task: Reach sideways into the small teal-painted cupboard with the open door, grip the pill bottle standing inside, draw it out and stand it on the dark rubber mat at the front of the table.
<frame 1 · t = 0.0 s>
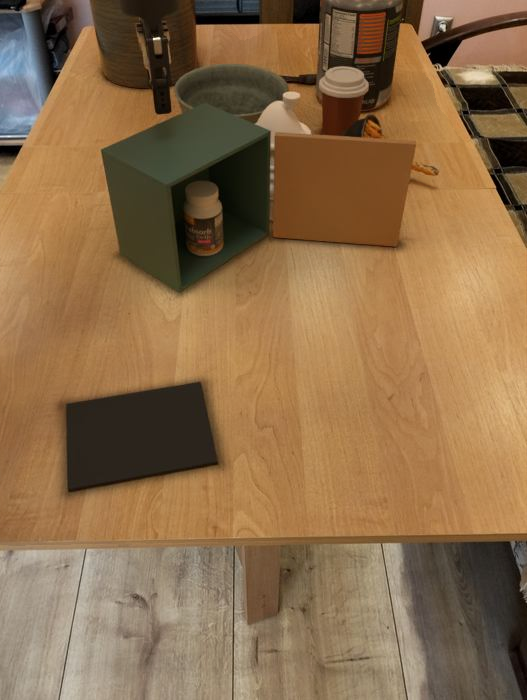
hand: (159, 99, 89), 20 cm above the table, tool pointing down, fingers open, 8 cm apart
knife: (273, 79, 143), on the table
supplement tub: (351, 98, 136), on the table
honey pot: (276, 200, 108), on the table
mat: (139, 434, 73), on the table
planter: (151, 70, 146), on the table
bowl: (233, 138, 123), on the table
cupboard: (196, 244, 99), on the table
pill bottle: (205, 247, 97), resting on cupboard
fried food: (383, 171, 115), on the table
coffee cup: (338, 137, 124), on the table
cupboard door: (340, 183, 95), point 9 cm above the table, hinge at 125.0°
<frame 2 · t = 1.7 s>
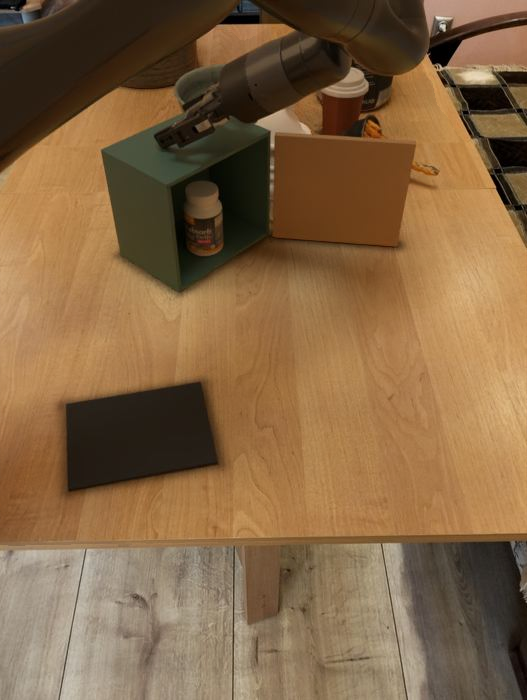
hand: (172, 126, 87), 18 cm above the table, tool tilted 60°, fingers open, 8 cm apart
nothing on the table moved.
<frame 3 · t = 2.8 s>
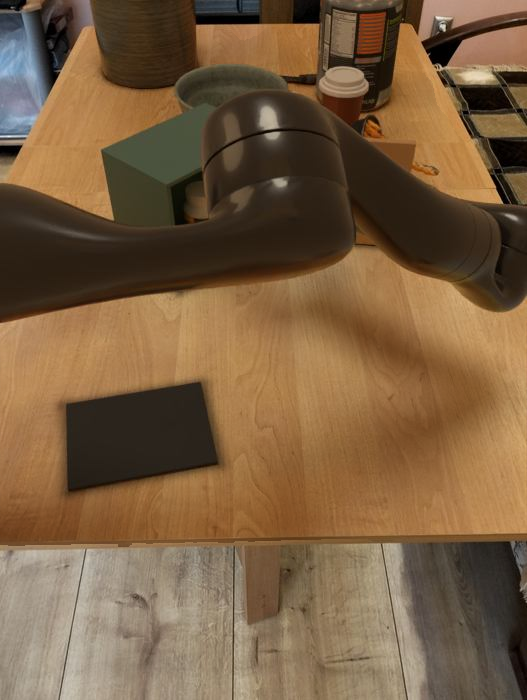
hand: (258, 151, 79), 20 cm above the table, tool horizontal, fingers open, 8 cm apart
nothing on the table moved.
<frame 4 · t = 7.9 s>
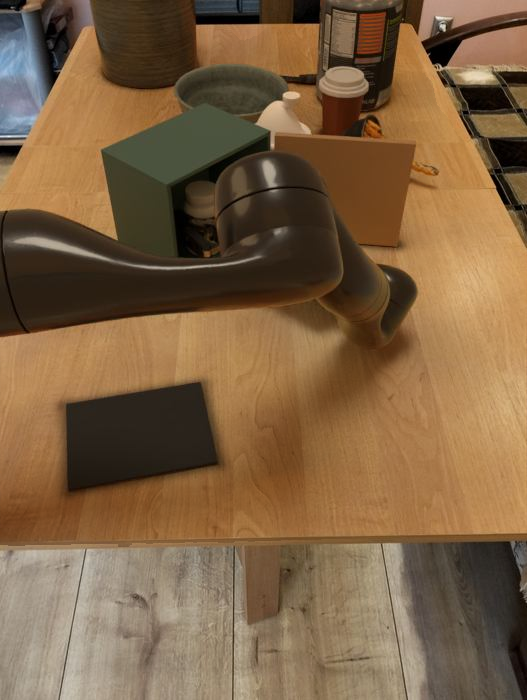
hand: (191, 206, 94), 7 cm above the table, tool horizontal, fingers closed on pill bottle, 5 cm apart
pill bottle: (205, 247, 97), resting on cupboard, touching gripper
everything else where it was.
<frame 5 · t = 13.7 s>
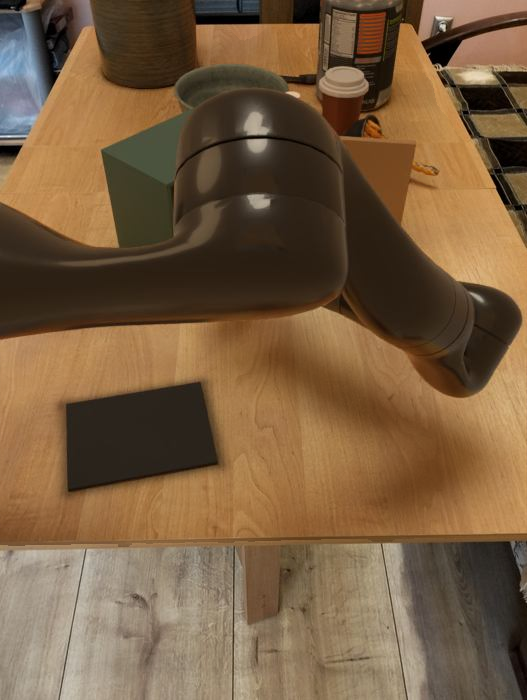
hand: (210, 207, 74), 17 cm above the table, tool horizontal, fingers closed on pill bottle, 5 cm apart
pill bottle: (227, 259, 78), point 11 cm above the table, touching gripper
everything else where it was.
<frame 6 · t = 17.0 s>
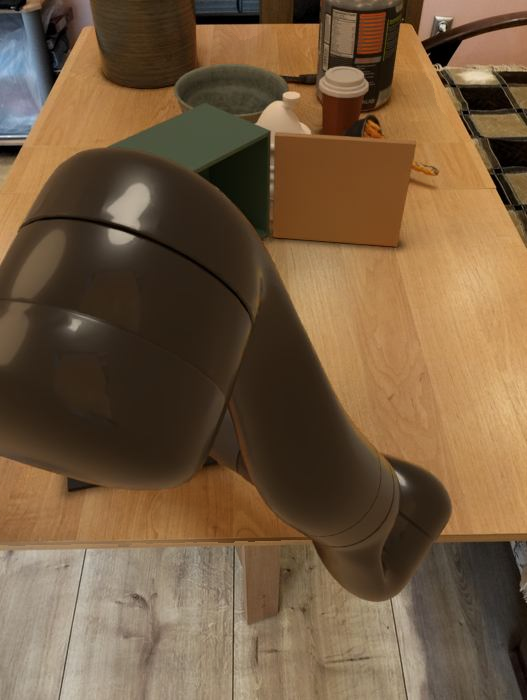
hand: (105, 325, 64), 15 cm above the table, tool horizontal, fingers closed on pill bottle, 5 cm apart
pill bottle: (130, 380, 67), point 9 cm above the table, touching gripper
everything else where it was.
when the fingers open (7 cm above the table, at t = 19.8 s): pill bottle stays where it is, resting on mat.
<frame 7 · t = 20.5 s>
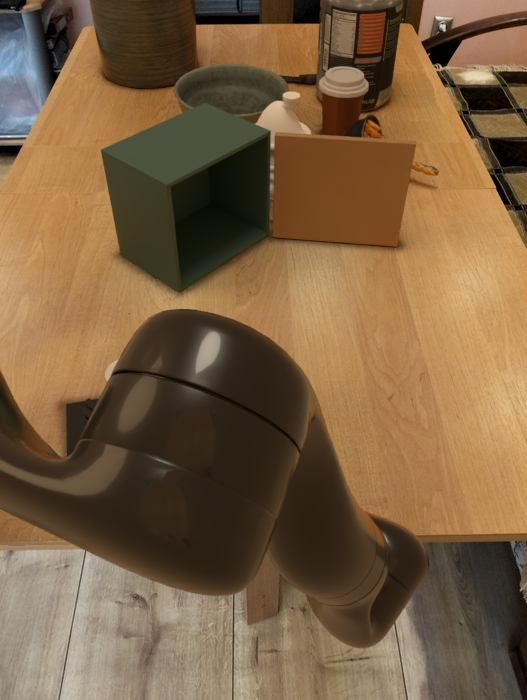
hand: (119, 382, 69), 7 cm above the table, tool horizontal, fingers open, 8 cm apart
pill bottle: (140, 433, 73), resting on mat
everything else where it was.
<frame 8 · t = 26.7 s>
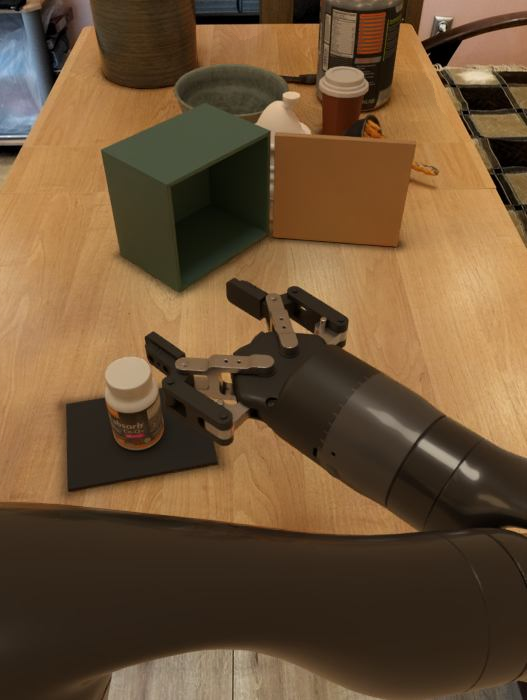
hand: (190, 314, 50), 25 cm above the table, tool horizontal, fingers open, 8 cm apart
nothing on the table moved.
at the end: pill bottle inside the target area on the mat (0.1 cm from its centre), point 0.3 cm above the mat's base; pill bottle tilted 0°; the gripper is holding nothing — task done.
